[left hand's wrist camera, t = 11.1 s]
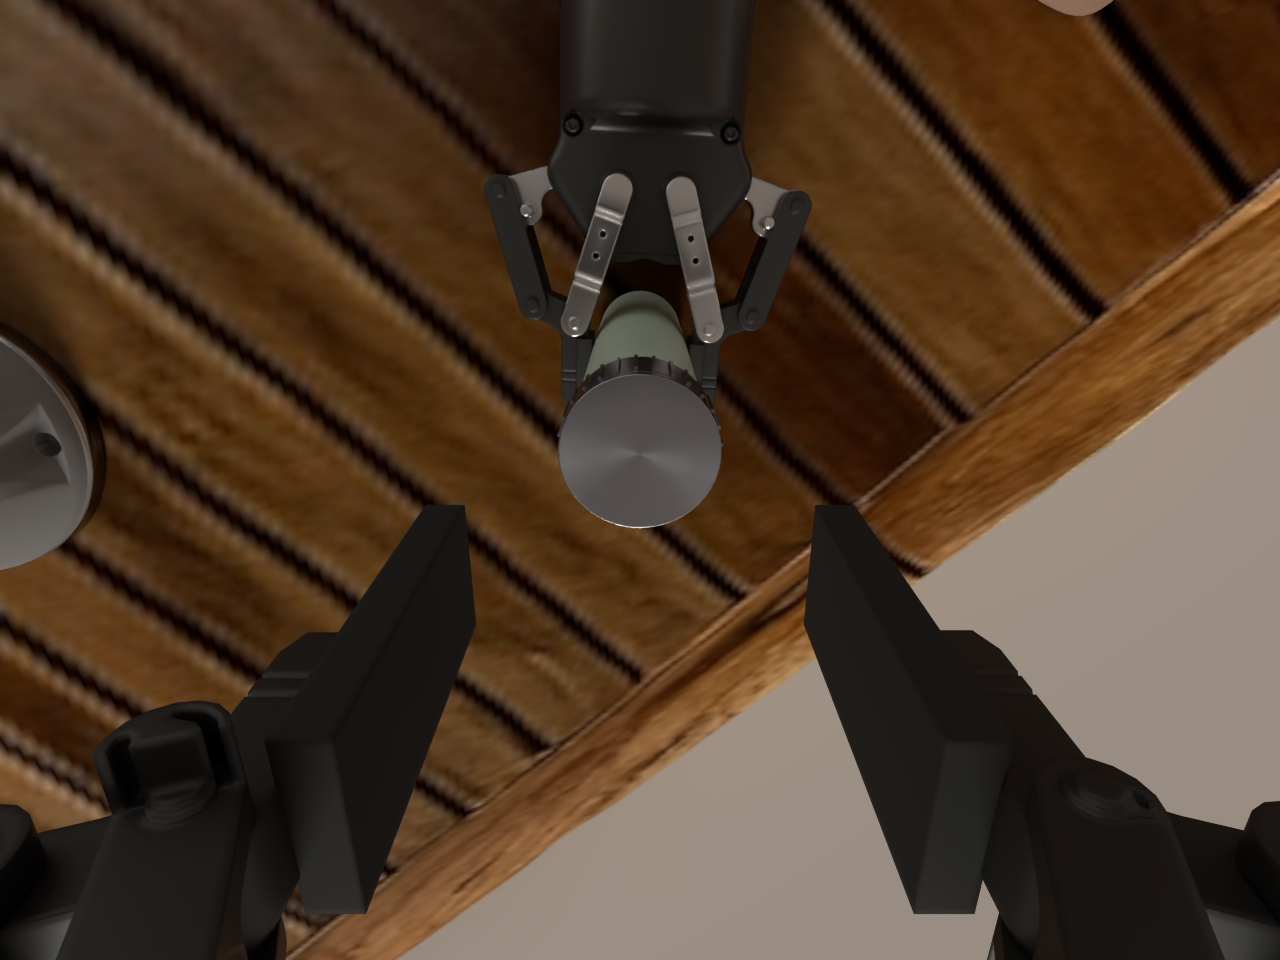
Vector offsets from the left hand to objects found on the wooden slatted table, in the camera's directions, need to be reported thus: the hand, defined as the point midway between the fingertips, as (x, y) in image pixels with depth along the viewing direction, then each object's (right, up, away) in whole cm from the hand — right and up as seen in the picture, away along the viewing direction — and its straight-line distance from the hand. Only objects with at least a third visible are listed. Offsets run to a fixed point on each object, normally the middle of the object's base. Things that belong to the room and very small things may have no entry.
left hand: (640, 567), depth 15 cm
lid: (0, +3, +7) cm, 7 cm away
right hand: (0, +5, +20) cm, 20 cm away
